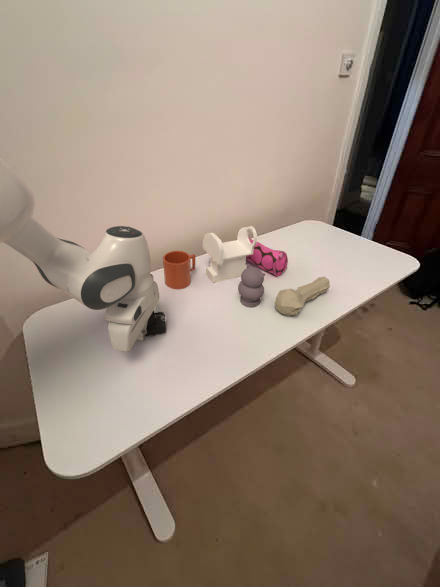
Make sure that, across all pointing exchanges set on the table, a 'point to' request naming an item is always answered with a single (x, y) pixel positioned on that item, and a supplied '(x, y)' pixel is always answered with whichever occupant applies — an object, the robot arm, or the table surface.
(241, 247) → the tape dispenser
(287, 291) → the faceted club
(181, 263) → the mug
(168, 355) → the table surface
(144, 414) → the table surface
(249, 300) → the cat figurine
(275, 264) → the pencil case
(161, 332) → the film camera
